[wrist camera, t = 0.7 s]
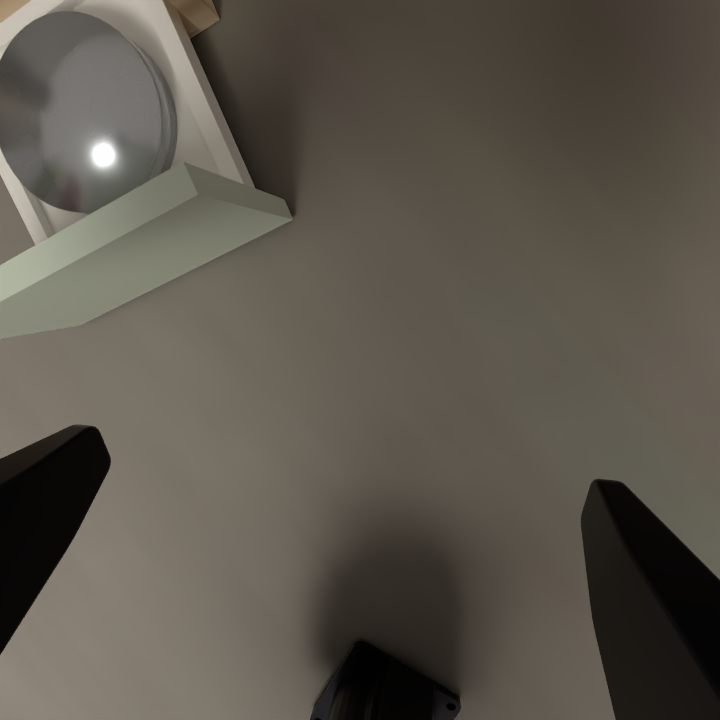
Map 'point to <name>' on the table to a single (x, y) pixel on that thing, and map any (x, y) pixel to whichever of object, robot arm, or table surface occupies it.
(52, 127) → the disc
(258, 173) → the table surface
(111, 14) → the drawer
